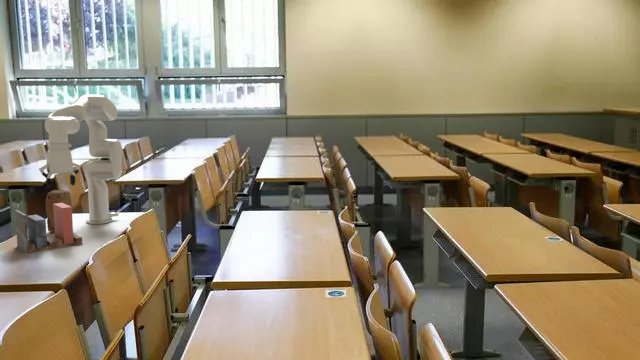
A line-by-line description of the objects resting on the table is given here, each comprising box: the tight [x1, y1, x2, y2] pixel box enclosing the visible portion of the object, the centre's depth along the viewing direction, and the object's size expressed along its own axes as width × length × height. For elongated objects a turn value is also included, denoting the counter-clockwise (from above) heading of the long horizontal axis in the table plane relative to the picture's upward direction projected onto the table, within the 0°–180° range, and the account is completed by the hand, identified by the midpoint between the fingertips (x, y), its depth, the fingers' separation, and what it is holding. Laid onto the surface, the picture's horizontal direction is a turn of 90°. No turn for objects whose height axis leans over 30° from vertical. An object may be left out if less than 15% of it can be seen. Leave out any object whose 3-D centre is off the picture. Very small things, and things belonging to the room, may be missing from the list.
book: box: [53, 203, 74, 244], centre depth 266 cm, size 4×12×16 cm, turn 41°
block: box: [45, 189, 73, 234], centre depth 284 cm, size 11×8×20 cm
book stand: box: [14, 209, 83, 254], centre depth 262 cm, size 23×14×16 cm, turn 131°
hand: (61, 186), depth 263 cm, fingers open, 9 cm apart
